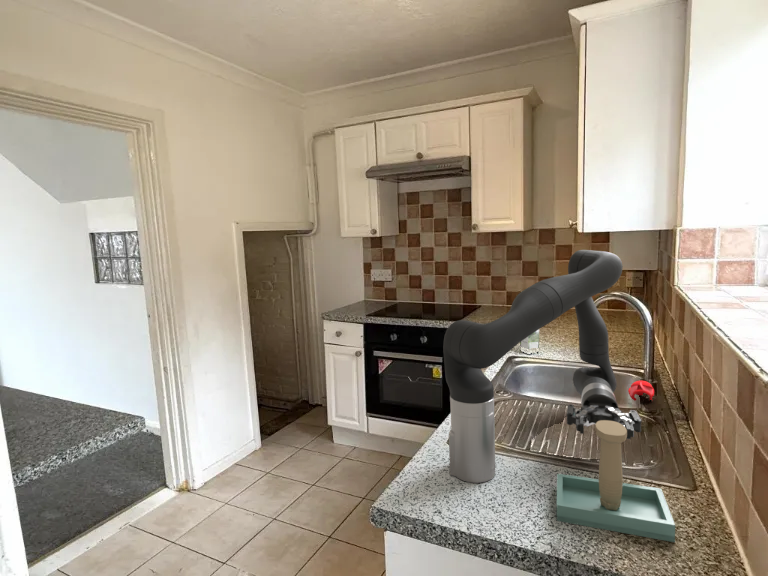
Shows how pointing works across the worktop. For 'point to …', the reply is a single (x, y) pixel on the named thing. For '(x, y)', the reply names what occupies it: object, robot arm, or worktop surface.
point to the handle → (610, 462)
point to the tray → (634, 516)
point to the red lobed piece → (641, 389)
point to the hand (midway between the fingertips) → (605, 432)
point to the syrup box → (531, 341)
